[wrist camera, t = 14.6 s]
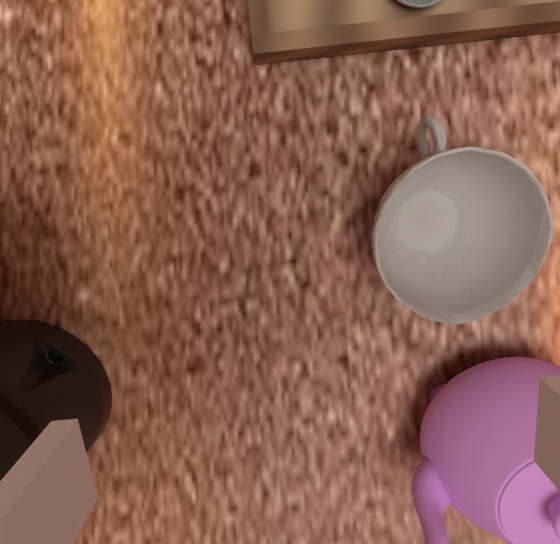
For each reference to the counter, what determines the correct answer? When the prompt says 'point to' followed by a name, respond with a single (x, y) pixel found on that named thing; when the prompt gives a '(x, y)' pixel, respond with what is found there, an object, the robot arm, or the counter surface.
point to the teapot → (487, 455)
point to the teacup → (460, 230)
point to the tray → (387, 25)
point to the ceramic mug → (419, 3)
